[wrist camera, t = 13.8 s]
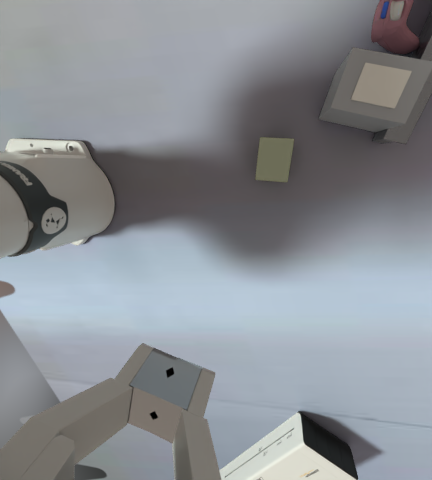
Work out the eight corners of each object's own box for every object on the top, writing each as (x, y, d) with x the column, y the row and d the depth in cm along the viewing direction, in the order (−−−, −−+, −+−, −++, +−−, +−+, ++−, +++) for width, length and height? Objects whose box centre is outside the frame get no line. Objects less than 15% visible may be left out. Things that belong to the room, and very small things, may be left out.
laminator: (300, 407, 46) (304, 443, 40) (353, 443, 46) (364, 484, 40) (213, 472, 59) (207, 506, 54) (254, 500, 59) (252, 537, 53)
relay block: (257, 177, 34) (255, 179, 30) (261, 140, 32) (259, 137, 28) (286, 179, 33) (287, 182, 29) (291, 141, 31) (294, 138, 27)
